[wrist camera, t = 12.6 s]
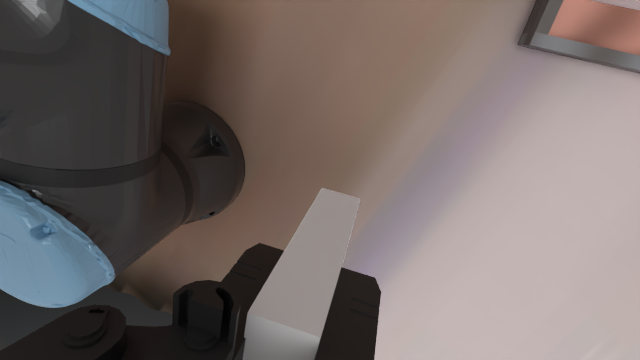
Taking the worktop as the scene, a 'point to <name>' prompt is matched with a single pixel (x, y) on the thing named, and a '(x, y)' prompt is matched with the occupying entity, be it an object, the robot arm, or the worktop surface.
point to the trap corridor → (585, 32)
